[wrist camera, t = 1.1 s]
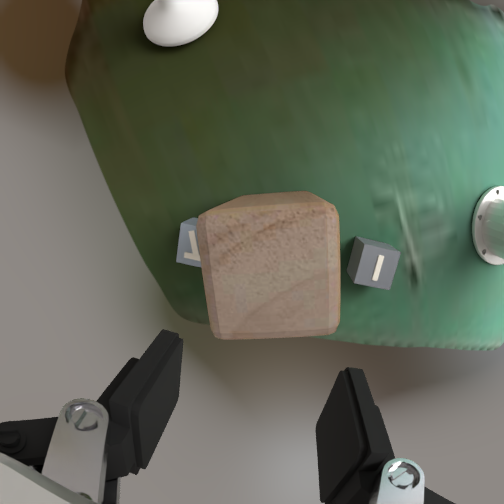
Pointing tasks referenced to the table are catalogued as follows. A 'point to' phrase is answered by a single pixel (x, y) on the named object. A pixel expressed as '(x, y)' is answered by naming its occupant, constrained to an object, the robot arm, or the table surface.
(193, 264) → the slate block marked 7
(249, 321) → the wooden block
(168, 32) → the flower in vase
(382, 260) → the charcoal block marked 1
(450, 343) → the table surface
